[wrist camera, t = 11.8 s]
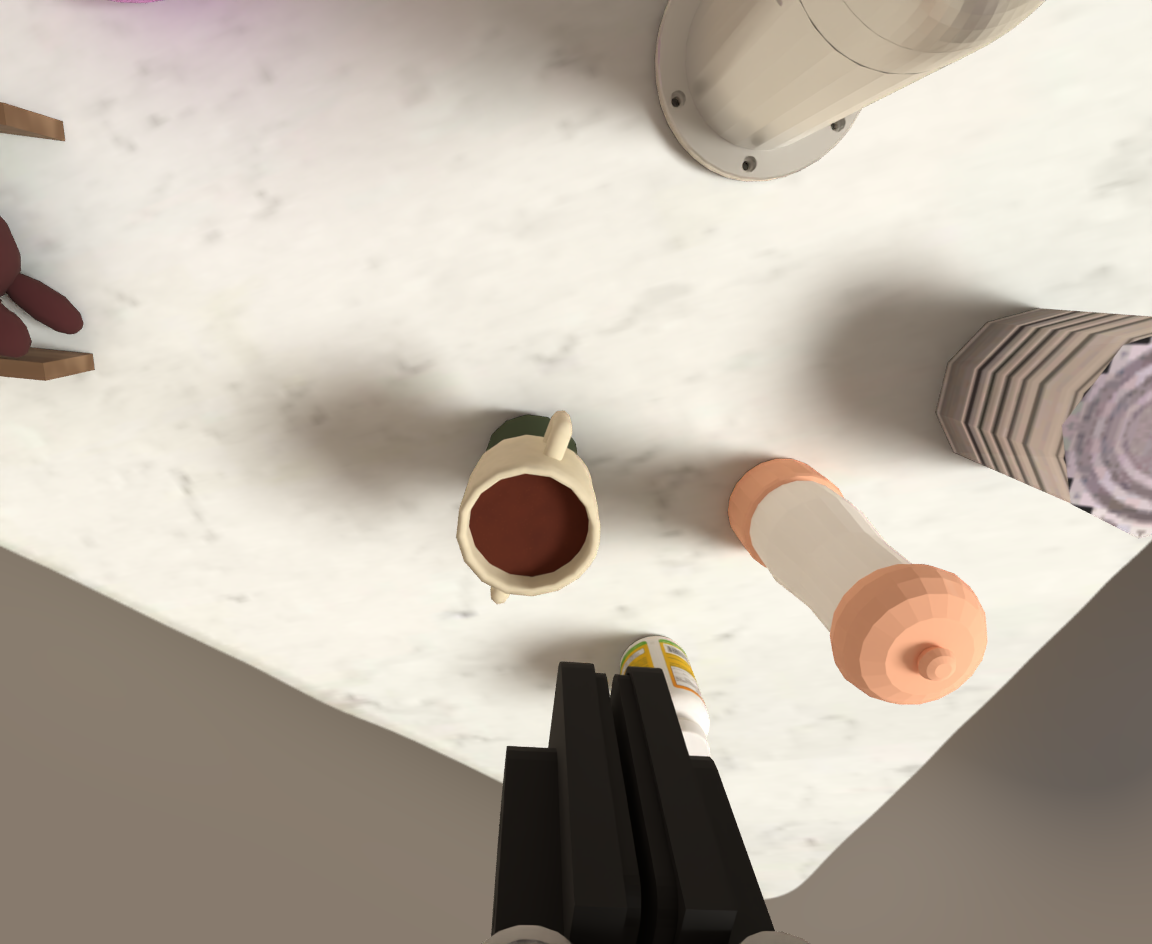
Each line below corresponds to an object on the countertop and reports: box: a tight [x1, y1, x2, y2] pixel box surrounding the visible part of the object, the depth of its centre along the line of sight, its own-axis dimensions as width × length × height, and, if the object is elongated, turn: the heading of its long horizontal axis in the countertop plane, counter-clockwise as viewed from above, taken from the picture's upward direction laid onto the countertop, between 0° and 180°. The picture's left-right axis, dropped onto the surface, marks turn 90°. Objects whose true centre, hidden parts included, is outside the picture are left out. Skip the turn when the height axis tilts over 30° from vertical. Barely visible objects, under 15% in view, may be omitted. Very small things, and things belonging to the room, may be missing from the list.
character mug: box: [456, 411, 600, 604], centre depth 36 cm, size 11×7×13 cm, turn 159°
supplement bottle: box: [620, 636, 710, 757], centre depth 43 cm, size 5×5×10 cm
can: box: [936, 308, 1152, 538], centre depth 37 cm, size 11×11×12 cm
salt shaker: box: [728, 459, 987, 704], centre depth 35 cm, size 7×7×19 cm
